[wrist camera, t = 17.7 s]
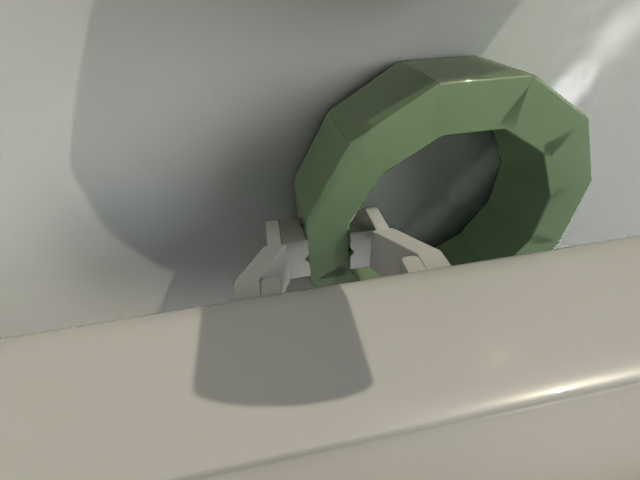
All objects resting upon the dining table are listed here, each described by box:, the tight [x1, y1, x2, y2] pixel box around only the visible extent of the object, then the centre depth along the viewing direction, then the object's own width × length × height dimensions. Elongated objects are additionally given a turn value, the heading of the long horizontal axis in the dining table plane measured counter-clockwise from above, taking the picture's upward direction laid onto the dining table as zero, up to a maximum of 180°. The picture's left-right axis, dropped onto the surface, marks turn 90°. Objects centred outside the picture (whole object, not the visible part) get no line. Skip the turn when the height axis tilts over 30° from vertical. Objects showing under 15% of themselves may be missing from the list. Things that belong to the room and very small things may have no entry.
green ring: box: [294, 55, 591, 288], centre depth 14 cm, size 11×11×3 cm
